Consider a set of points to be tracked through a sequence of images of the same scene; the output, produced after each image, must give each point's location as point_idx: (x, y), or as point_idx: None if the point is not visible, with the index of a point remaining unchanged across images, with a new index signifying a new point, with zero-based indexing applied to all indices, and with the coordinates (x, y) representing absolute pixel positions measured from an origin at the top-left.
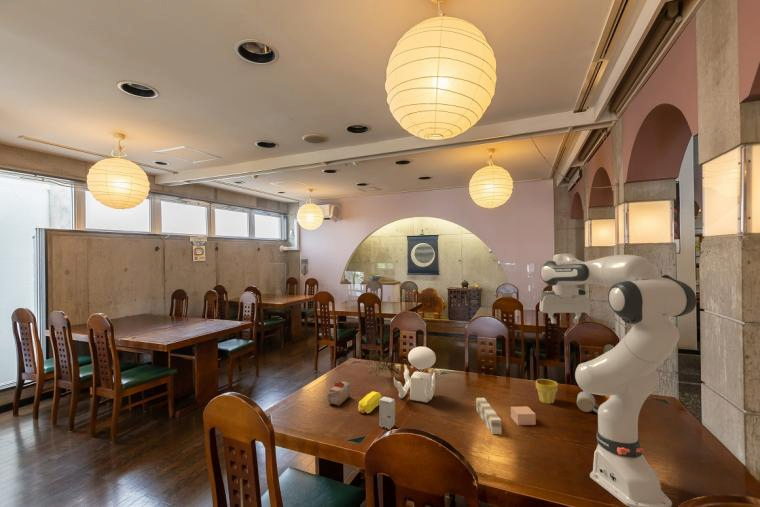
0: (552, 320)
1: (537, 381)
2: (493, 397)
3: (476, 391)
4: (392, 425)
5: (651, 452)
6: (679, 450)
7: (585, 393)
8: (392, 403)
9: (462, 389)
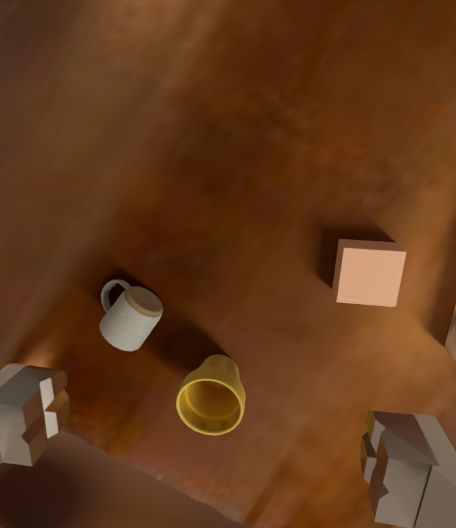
0: (452, 463)
1: (230, 424)
2: None
3: None
4: None
5: (112, 56)
6: (36, 63)
7: (120, 333)
8: None
9: None
